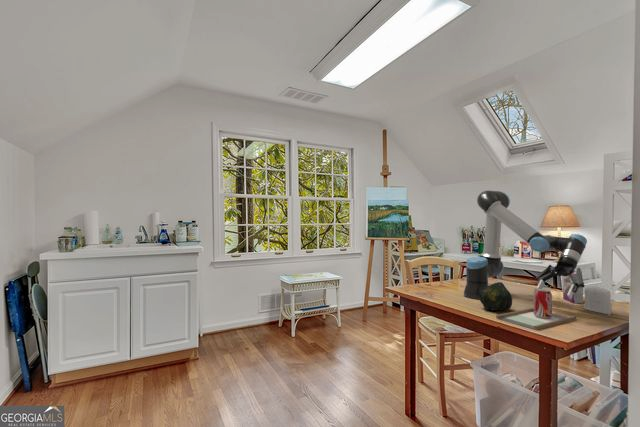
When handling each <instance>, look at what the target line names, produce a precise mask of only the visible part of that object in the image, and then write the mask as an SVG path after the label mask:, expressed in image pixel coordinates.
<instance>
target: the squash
mask: <svg viewBox="0 0 640 427" xmlns="http://www.w3.org/2000/svg"><path fill="white" fill-rule="evenodd" d="M479 300H480V303H481V305H482V306H483V308H484V309H486V310H488V311H493V312H494V311H509V310H510V309H511V307H513V306H512V305H513V297H512V294H511V292H510V291H509V290H508V289H507V287H506V286H505V285H504V283H503V282H502V281H501V282H500V281H499V282H494V283H492V284H490V285H489V284H488V286H487V287H485V288H484V289H482V291H481V293H480V299H479Z"/></svg>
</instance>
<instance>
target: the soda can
mask: <svg viewBox="0 0 640 427" xmlns="http://www.w3.org/2000/svg"><path fill="white" fill-rule="evenodd" d="M552 297H553V294H552V292H551V290H550V289H547V288H542V289H541V288H537V287H536V288H534V291H533V307H534V315H535V316H536V317H538V318H543V319H550V318H551V317H552V314H553V301H552V300H553V298H552Z"/></svg>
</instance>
